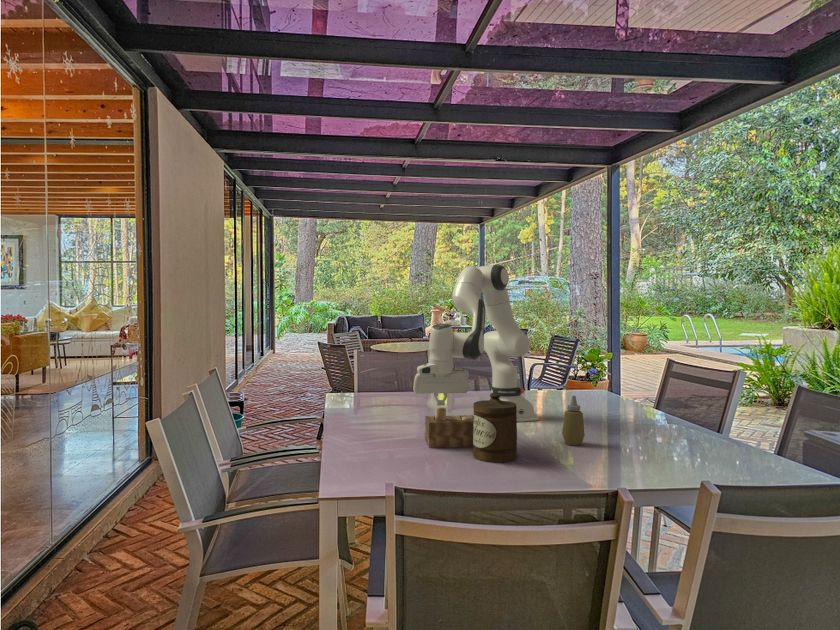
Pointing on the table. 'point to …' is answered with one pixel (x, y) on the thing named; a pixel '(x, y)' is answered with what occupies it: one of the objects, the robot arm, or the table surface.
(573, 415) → the squeeze bottle
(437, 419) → the peg
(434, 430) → the socket block
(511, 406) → the wooden container
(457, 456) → the table surface
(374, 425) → the table surface
